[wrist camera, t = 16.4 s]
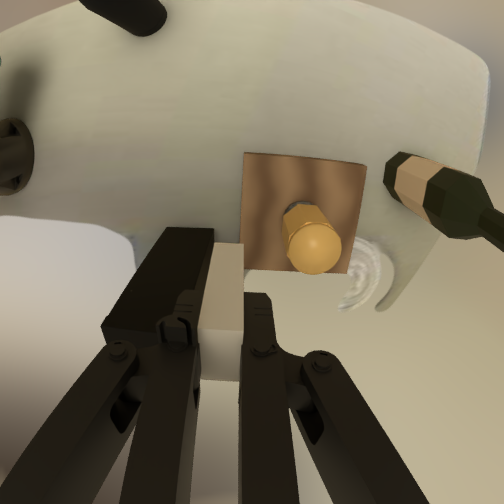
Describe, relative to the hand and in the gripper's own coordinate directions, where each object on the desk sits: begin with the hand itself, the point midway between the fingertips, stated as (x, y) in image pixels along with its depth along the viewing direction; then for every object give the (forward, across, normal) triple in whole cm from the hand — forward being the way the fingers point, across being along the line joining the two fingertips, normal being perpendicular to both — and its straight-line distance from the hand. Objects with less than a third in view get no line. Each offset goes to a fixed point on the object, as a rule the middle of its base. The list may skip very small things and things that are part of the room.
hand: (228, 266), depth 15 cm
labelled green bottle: (+29, +27, +2) cm, 39 cm away
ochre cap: (+24, +10, -6) cm, 26 cm away
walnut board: (+29, +10, -7) cm, 31 cm away
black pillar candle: (+29, -7, -14) cm, 33 cm away
